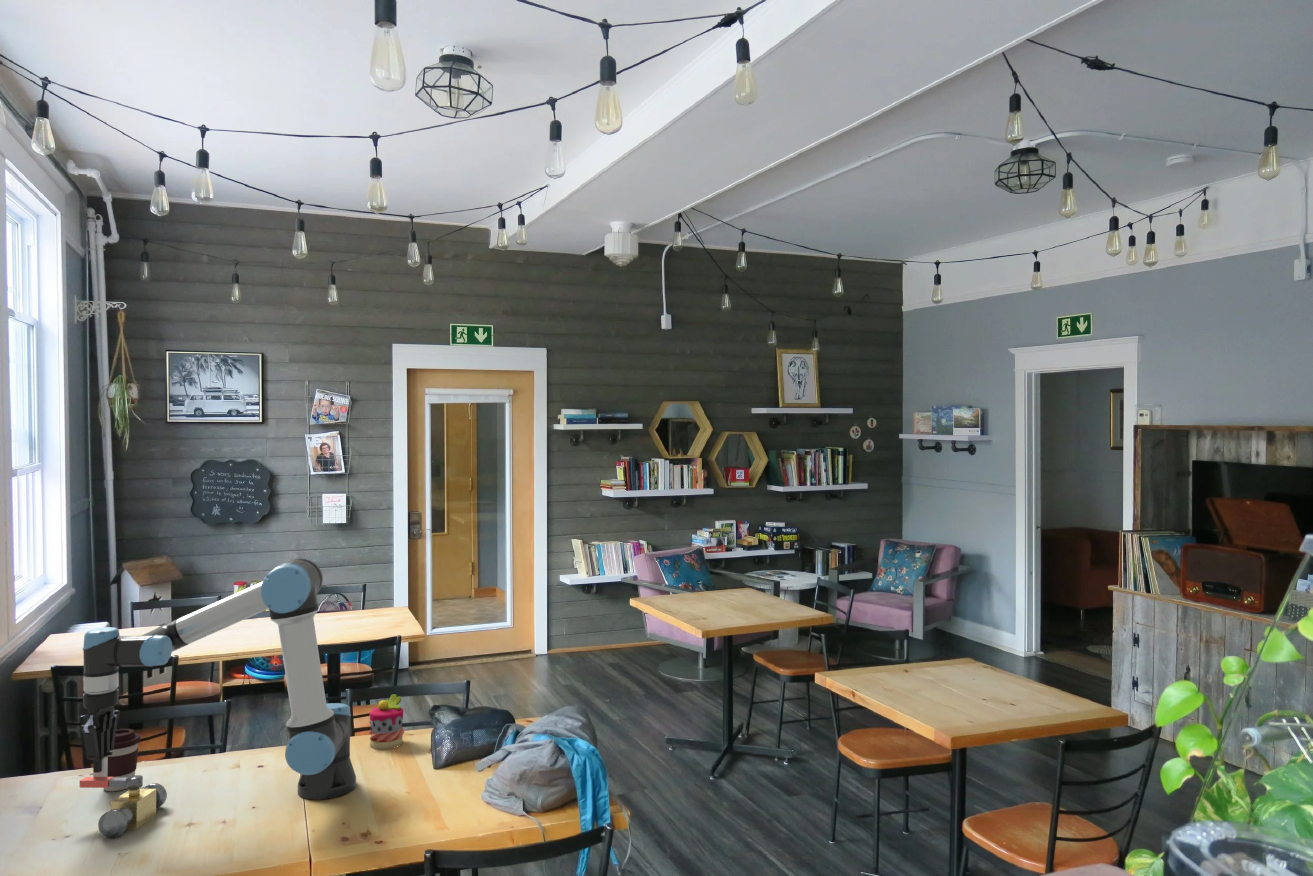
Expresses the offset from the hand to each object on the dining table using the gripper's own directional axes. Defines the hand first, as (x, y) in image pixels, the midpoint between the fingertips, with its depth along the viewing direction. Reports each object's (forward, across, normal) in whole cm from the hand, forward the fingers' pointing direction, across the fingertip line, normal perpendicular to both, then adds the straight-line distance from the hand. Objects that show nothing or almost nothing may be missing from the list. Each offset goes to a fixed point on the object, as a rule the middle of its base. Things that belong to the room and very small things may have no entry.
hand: (100, 783), depth 216 cm
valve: (+9, +2, +10) cm, 13 cm away
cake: (+10, -52, +58) cm, 79 cm away
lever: (0, +2, +4) cm, 4 cm away
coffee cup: (+10, -21, -7) cm, 24 cm away
